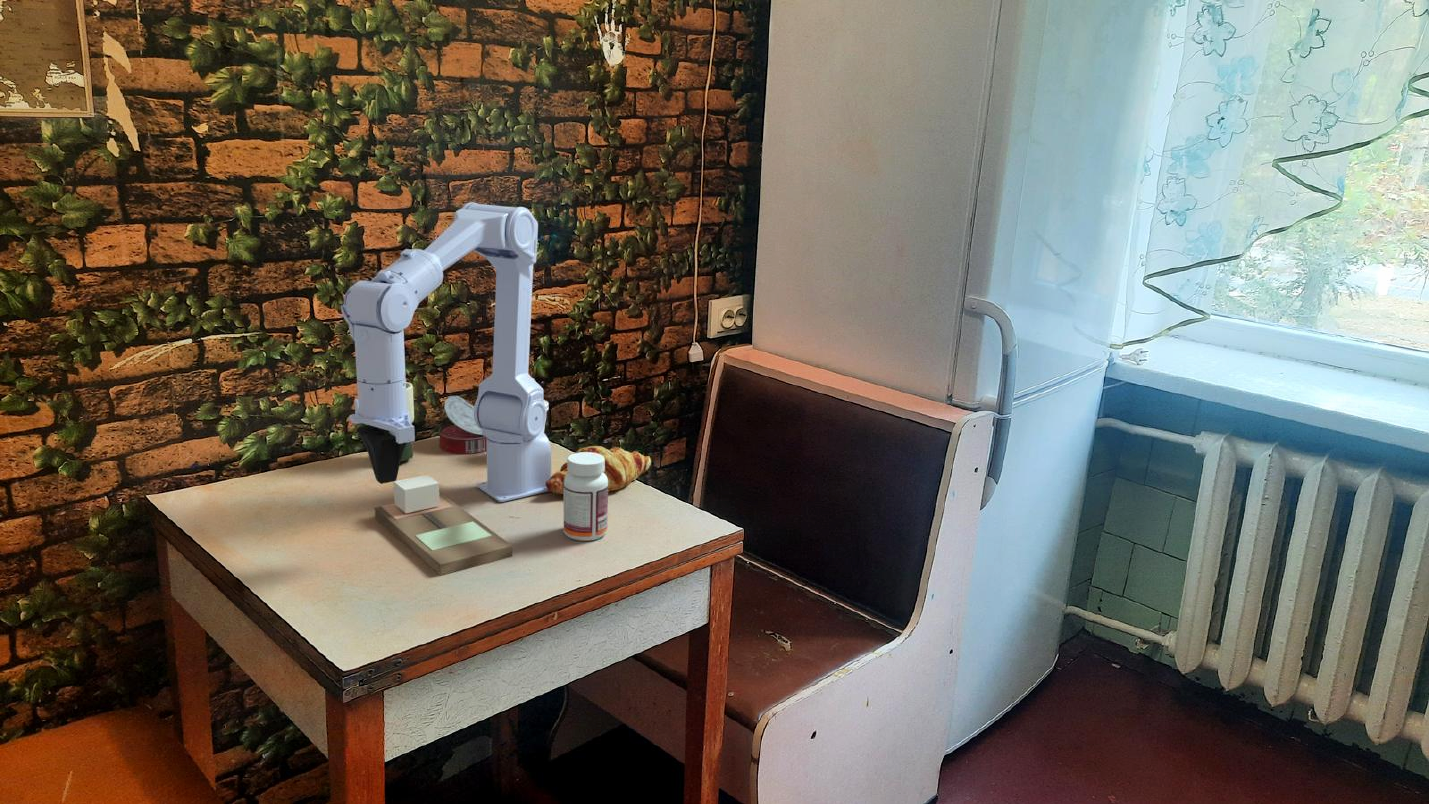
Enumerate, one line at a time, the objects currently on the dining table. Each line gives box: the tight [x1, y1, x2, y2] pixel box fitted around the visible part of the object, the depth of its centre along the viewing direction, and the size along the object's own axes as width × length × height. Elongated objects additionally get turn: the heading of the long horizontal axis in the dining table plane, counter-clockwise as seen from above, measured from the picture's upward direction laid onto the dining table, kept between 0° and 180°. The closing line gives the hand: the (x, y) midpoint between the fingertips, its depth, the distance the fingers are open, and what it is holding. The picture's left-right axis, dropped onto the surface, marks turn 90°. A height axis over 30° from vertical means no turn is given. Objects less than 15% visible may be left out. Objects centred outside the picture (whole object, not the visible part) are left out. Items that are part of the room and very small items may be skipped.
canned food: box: [438, 395, 487, 455], centre depth 166 cm, size 11×10×10 cm
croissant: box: [545, 445, 652, 495], centre depth 152 cm, size 21×10×8 cm, turn 138°
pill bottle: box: [563, 452, 609, 542], centre depth 132 cm, size 6×6×11 cm
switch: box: [374, 493, 513, 576], centre depth 130 cm, size 10×22×2 cm, turn 40°
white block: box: [393, 474, 440, 513], centre depth 135 cm, size 5×4×4 cm
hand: (386, 480), depth 121 cm, fingers closed
